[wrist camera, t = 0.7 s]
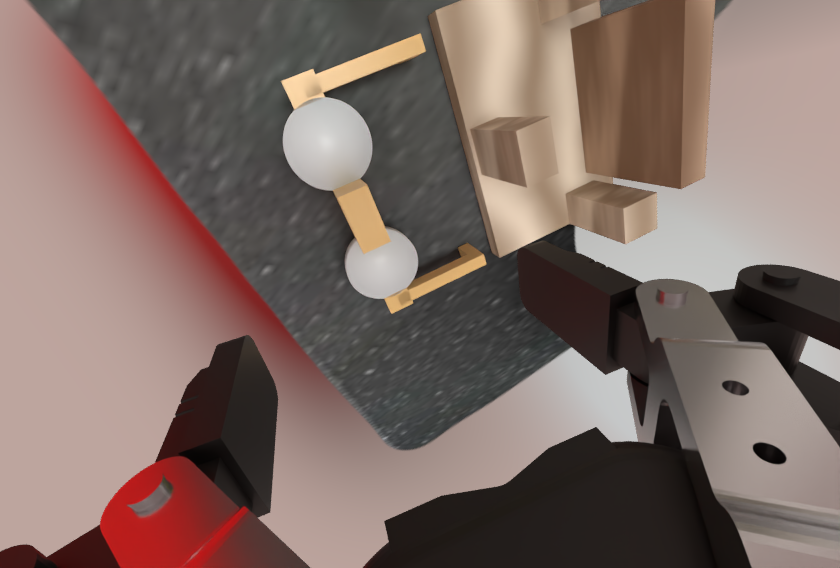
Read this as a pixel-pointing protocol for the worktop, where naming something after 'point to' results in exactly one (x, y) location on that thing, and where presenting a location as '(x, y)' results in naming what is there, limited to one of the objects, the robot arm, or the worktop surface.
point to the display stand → (576, 109)
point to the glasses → (341, 171)
